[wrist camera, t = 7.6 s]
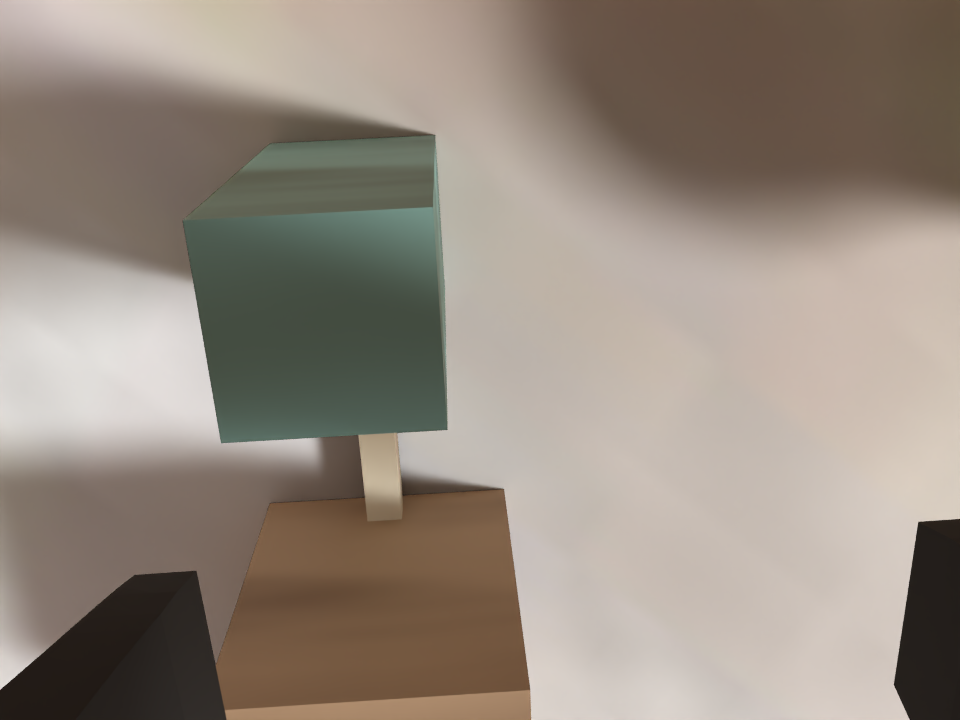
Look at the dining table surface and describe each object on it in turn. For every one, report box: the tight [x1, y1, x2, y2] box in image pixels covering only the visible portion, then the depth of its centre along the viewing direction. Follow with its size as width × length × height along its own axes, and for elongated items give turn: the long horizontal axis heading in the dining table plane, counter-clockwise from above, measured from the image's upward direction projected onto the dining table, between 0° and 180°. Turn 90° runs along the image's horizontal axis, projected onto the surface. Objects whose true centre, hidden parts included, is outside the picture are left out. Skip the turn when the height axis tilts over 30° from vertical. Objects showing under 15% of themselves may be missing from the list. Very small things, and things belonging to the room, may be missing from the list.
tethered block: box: [183, 135, 531, 720], centre depth 16 cm, size 12×5×6 cm, turn 2°
